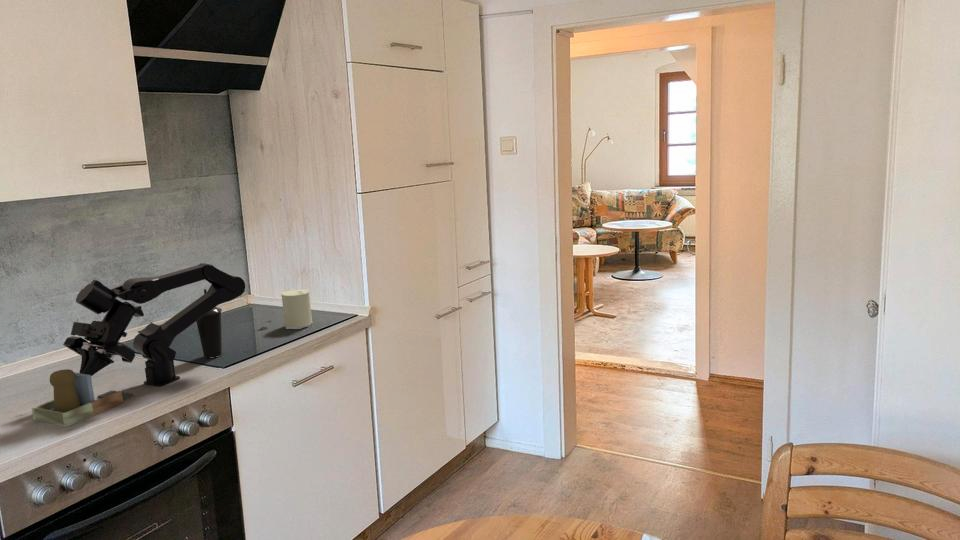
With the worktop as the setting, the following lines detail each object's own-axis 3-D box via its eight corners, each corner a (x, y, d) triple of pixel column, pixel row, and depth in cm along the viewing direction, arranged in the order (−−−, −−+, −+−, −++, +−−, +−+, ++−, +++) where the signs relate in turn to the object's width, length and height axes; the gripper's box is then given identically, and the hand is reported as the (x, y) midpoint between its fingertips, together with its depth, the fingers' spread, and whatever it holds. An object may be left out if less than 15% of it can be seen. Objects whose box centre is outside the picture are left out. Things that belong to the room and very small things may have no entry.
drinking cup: (227, 357, 202) (219, 290, 198) (199, 361, 199) (190, 293, 195) (226, 350, 209) (218, 285, 205) (199, 354, 206) (190, 288, 202)
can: (298, 331, 227) (294, 295, 224) (278, 328, 231) (274, 292, 229) (318, 323, 234) (315, 289, 232) (298, 321, 239) (295, 286, 237)
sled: (72, 406, 169) (66, 371, 167) (96, 411, 165) (90, 374, 163) (44, 417, 162) (38, 381, 161) (68, 422, 159) (62, 385, 157)
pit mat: (111, 391, 178) (111, 390, 178) (134, 395, 175) (133, 393, 175) (97, 397, 174) (97, 395, 174) (120, 401, 171) (119, 399, 171)
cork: (88, 409, 166) (81, 365, 164) (75, 420, 160) (67, 374, 158) (62, 411, 166) (55, 367, 164) (48, 421, 160) (40, 376, 158)
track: (91, 397, 175) (89, 386, 174) (123, 402, 170) (121, 391, 169) (33, 420, 162) (31, 407, 161) (66, 426, 157) (64, 414, 156)
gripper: (64, 304, 171) (27, 361, 163) (117, 310, 163) (81, 370, 156) (98, 326, 180) (64, 382, 172) (149, 332, 172) (117, 391, 164)
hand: (80, 381), depth 166 cm, fingers closed, pressing on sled
